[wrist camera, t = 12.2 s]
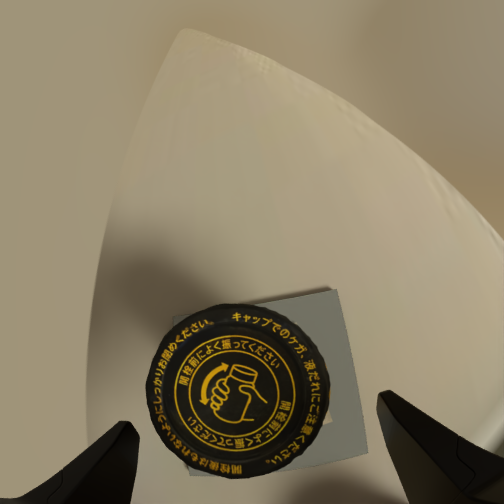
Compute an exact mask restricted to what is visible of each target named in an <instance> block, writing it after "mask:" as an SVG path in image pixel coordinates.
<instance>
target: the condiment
mask: <svg viewBox="0 0 504 504" xmlns="http://www.w3.org/2000/svg"><path fill="white" fill-rule="evenodd" d="M330 386H331V383H330V376H329V373H328V371H327V367H326V363H325V361H324V358H323V356H322V355H321V354H320V352H319V350H318V347H317V346H316V345H315V344H314V342H313V341H312V340H311V338H310V337H309V336H307V335H306V333H305V332H304V331H303V330H302V329H301V328H300V327H299V326H298V325H297V322H296V323H292V322H291V321H290V320H289V319H288V318H287V317H286V316H284V315H281V314H279V313H278V312H276V311H273V310H270V309H268V308H266V307H259V306H256V305H248V304H219V305H215V306H212V307H210V308H207V309H205V310H202V311H199V312H196V313H194V314H192V315H190V316H188V317H186V318H185V319H183V320H182V321H180V322H179V323H178V324H176V325H175V326H174V327H173V328H172V329H171V330H170V331H169V332H168V333H167V334H166V335H165V336H164V338H163V340H162V341H161V343H160V345H159V347H158V350H157V352H156V354H155V356H154V358H153V360H152V363H151V367H150V370H149V374H148V377H147V381H146V398H147V405H148V408H149V412H150V417H151V421H152V423H153V425H154V428H155V430H156V432H157V433H158V435H159V436H160V438H161V440H162V441H163V443H164V444H165V446H166V447H167V448H168V449H169V450H170V451H172V452H173V453H174V454H175V455H177V456H178V457H179V458H180V459H181V460H182V461H184V462H185V463H186V464H187V465H188V466H190V467H191V468H193V469H195V470H200V471H203V472H206V473H209V474H211V475H212V474H213V475H216V476H221V477H225V478H228V479H243V478H251V477H256V476H260V475H265V474H269V473H271V472H274V471H278V470H279V469H281V468H283V467H285V466H287V465H288V464H290V463H291V462H292V461H293V460H294V459H295V458H296V457H298V456H301V455H302V454H303V453H304V451H305V450H306V449H307V447H309V446H310V445H311V444H312V443H313V441H314V440H315V438H316V437H317V435H318V433H319V431H320V429H321V427H322V426H323V425H324V424H327V423H330V422H333V421H332V418H331V415H330V412H329V410H328V408H329V402H330V394H331V391H330Z"/></svg>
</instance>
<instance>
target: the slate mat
mask: <svg viewBox="0 0 504 504" xmlns="http://www.w3.org/2000/svg"><path fill="white" fill-rule="evenodd" d="M254 305H256V306H259V307H266V308H268V309H270V310H273V311H276V312H278V313H279V314H281V315H284V316H286V317H287V318H288V319H289V320H290V321H291V322H292V323H296V322H297V325H298V326H299V327H300V328H301V329H302V330H303V331H304V332H305V333H306V335H307V336H309V337H310V338H311V340H312V341H313V342H314V344H315V345H316V346H317V347H318V350H319V352H320V354H321V355H322V356H323V358H324V361H325V363H326V367H327V371H328V373H329V376H330V383H331V386H330V391H331V394H330V402H329V408H328V410H329V412H330V415H331V418H332V421H333V422H330V423H327V424H324V425H323V426H322V427H321V429H320V431H319V433H318V435H317V437H316V438H315V440H314V441H313V443H312V444H311V445H310V446H309V447H307V449H306V450H305V451H304V453H303V454H302V455H301V456H298V457H296V458H295V459H294V460H293V461H292V462H291V463H290V464H288V465H287V466H285V467H283V468H281V469H279V470H278V471H274V472H280V471H287V470H294V469H300V468H306V467H312V466H317V465H322V464H327V463H331V462H336V461H340V460H344V459H348V458H352V457H356V456H360V455H363V454H367V453H368V447H367V439H366V432H365V426H364V419H363V413H362V407H361V401H360V395H359V389H358V384H357V379H356V373H355V368H354V363H353V358H352V353H351V349H350V344H349V339H348V335H347V330H346V326H345V321H344V317H343V313H342V309H341V304H340V300H339V296H338V292H337V289H334V290H330V291H325V292H320V293H315V294H310V295H304V296H299V297H294V298H288V299H283V300H277V301H272V302H266V303H260V304H254ZM190 315H192V314H189V315H181V316H174V317H173V327H174V326H175V325H176V324H178V323H179V322H180V321H182V320H183V319H185V318H186V317H188V316H190ZM188 468H189V474H190V476H216V475H213V474H212V475H211V474H209V473H206V472H203V471H200V470H195V469H193V468H191V467H190V466H188ZM271 473H272V472H271Z"/></svg>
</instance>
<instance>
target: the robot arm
mask: <svg viewBox="0 0 504 504" xmlns="http://www.w3.org/2000/svg"><path fill="white" fill-rule="evenodd" d="M376 410H377V415H378V418H379V422H380V425H381V429H382V432H383V436H384V440H385V443H386V447H387V449H388V452H389V454H390V457H391V459H392V461H393V464H394V466H395V469H396V471H397V474H398V476H399V479H400V481H401V483H402V486H403V489H404V491H405V494H406V496H407V499H408V501H409V504H504V458H503V457H501V456H498V455H496V454H493V453H491V452H489V451H487V450H485V449H482V448H480V447H478V446H476V445H475V444H473V443H471V442H469V441H468V440H466V439H464V438H463V437H461V436H458V434H456V433H455V432H453V431H452V430H450V429H449V428H447V427H445V426H444V425H442V424H441V423H439V422H438V421H436V420H435V419H433V418H432V417H430V416H429V415H427V414H426V413H424V412H422V411H421V410H419V409H418V408H416V407H415V406H413V405H412V404H410V403H409V402H407V401H406V400H405V399H403V398H402V397H400V396H399V395H397V394H396V393H394V392H393V391H391V390H386V391H383V392H380V393H379V394H378V399H377V407H376ZM139 443H140V436H139V434H138V432H137V431H136V429H135V428H134V426H133V425H132V423H131V422H129V421H119V422H118V423H117V424H115V425H114V426H113V427H112V428H111V429H110V430H108V431H107V432H106V433H105V434H104V435H103V436H101V437H100V438H99V439H98V440H97V441H95V442H94V443H93V444H92V445H91V446H89V447H88V448H87V449H86V450H85V451H84V452H82V453H81V454H80V455H79V456H77V457H76V458H75V459H74V460H73V461H71V462H70V463H69V464H68V465H66V466H65V467H64V468H63V470H60V471H59V472H58V473H56V474H55V475H54V476H52V477H51V478H50V479H48V480H47V481H46V482H44V483H42V484H41V485H39V486H38V487H36V488H34V489H33V490H31V491H29V492H28V493H26V494H24V495H23V496H21V497H18V498H11V499H9V498H0V504H130V502H131V497H132V492H133V487H134V482H135V477H136V472H137V463H138V452H139Z"/></svg>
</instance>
